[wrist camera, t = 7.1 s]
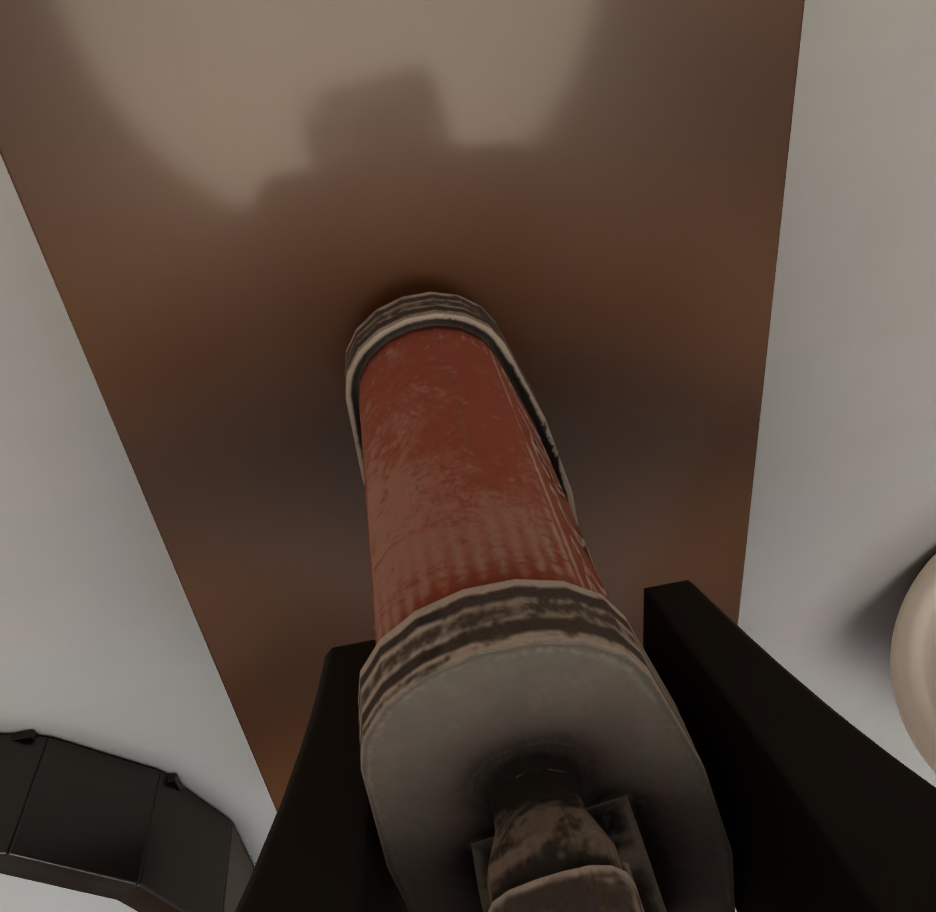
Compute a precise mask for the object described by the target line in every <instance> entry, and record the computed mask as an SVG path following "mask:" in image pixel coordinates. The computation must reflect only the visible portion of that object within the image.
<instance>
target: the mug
mask: <svg viewBox="0 0 936 912" xmlns="http://www.w3.org/2000/svg"><path fill="white" fill-rule="evenodd" d="M890 667H891V680H892V686H893V692H894V696H895V700H896V704H897V707H898V710H899V713H900V716H901V719H902V721H903V723H904V725H905V728H906V730H907V732H908V734H909V736H910V737H911V739H912V741H913V743H914V744H915V746H916V748H917V749H918V751H919V752H920V754H921V755H922V757H923V758H924V759H925V761H926V762H927V763H928V765H929V766H930V767H931V768H932V769H933V771H934V772H935V773H936V554H935V555H934V556H933V557H932V558H931V559H930V560H929V561H928V562H927V564H926V565H925V566H924V567H923V569H922V570H921V571H920V573H919V574H918V576H917V577H916V579H915V580H914V582H913V583H912V585H911V587H910V588H909V590H908V592H907V594H906V596H905V598H904V600H903V603H902V605H901V607H900V610H899V613H898V616H897V619H896V622H895V627H894V631H893V635H892V643H891V655H890Z"/></svg>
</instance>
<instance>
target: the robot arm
mask: <svg viewBox="0 0 936 912" xmlns="http://www.w3.org/2000/svg"><path fill="white" fill-rule="evenodd" d="M375 646H376V640H370V641H364V642H359V643H354V644H349V645H343V646H338V647H333V648H331V649H330V651H329V652H328V653H327V654H326V655H325V659H324V664H323V669H322V674H321V678H320V682H319V686H318V690H317V694H316V698H315V702H314V705H313V709H312V712H311V716H310V719H309V722H308V725H307V729H306V732H305V735H304V738H303V741H302V745H301V748H300V750H299V753H298V756H297V759H296V762H295V765H294V767H293V770H292V773H291V776H290V779H289V782H288V784H287V787H286V790H285V793H284V796H283V799H282V801H281V804H280V806H279V809H278V812H277V814H276V817H275V819H274V822H273V824H272V826H271V829H270V831H269V834H268V836H267V838H266V841H265V843H264V846H263V848H262V850H261V853H260V855H259V858H258V860H257V862H256V865H255V867H254V870H253V872H252V874H251V877H250V879H249V881H248V884H247V886H246V888H245V890H244V893H243V895H242V897H241V899H240V901H239V903H238V906H237V908H236V910H235V912H410V911H409V909H408V907H407V905H406V903H405V901H404V899H403V897H402V895H401V893H400V891H399V889H398V887H397V885H396V883H395V882H394V880H393V878H392V876H391V874H390V872H389V870H388V868H387V864H386V860H385V857H384V853H383V849H382V846H381V842H380V838H379V835H378V831H377V827H376V824H375V820H374V816H373V813H372V809H371V805H370V802H369V798H368V794H367V790H366V787H365V783H364V779H363V776H362V772H361V759H360V735H359V710H358V695H359V679H360V671H361V669H362V667H363V666H364V664H365V663H366V661H367V659H368V658H369V656H370V654H371V653H372V651H373V650H374V648H375ZM643 649H644V651H645V652H646V654H647V656H648V658H649V659H650V661H651V663H652V665H653V666H654V668H655V670H656V672H657V673H658V675H659V677H660V679H661V680H662V682H663V684H664V686H665V687H666V689H667V691H668V693H669V694H670V696H671V698H672V700H673V701H674V703H675V705H676V707H677V709H678V711H679V713H680V715H681V718H682V720H683V722H684V724H685V726H686V729H687V731H688V733H689V735H690V737H691V740H692V742H693V744H694V746H695V748H696V751H697V753H698V755H699V757H700V759H701V762H702V764H703V766H704V768H705V771H706V774H707V777H708V780H709V783H710V786H711V789H712V792H713V795H714V798H715V801H716V804H717V807H718V810H719V813H720V816H721V819H722V822H723V826H724V829H725V832H726V835H727V838H728V841H729V844H730V847H731V850H732V857H733V880H734V902H735V908H736V910H737V912H936V787H934V786H933V785H931V784H930V783H928V782H927V781H926V780H924V779H923V778H922V777H920V776H919V775H917V774H916V773H915V772H913V771H912V770H910V769H909V768H908V767H906V766H905V765H904V764H902V763H901V762H900V761H898V760H897V759H896V758H894V757H893V756H892V755H890V754H889V753H888V752H886V751H885V750H884V749H882V748H881V747H880V746H879V745H877V744H876V743H875V742H873V741H872V740H871V739H870V738H868V737H867V736H866V735H864V734H863V733H862V732H861V731H859V730H858V729H857V728H855V727H854V726H853V725H852V724H850V723H849V722H848V721H847V720H845V719H844V718H843V717H842V716H840V715H839V714H838V713H837V712H836V711H834V710H833V709H832V708H831V707H829V706H828V705H827V704H826V703H825V702H823V701H822V700H821V699H820V698H819V697H818V696H816V695H815V694H814V693H813V692H812V691H811V690H809V689H808V688H807V687H806V686H805V685H803V684H802V683H801V682H800V681H799V680H798V679H796V678H795V677H794V676H793V675H792V674H791V673H789V672H788V671H787V670H786V669H785V668H784V667H782V666H781V665H780V664H779V663H778V662H777V661H776V660H775V659H773V658H772V657H771V656H770V655H769V654H768V653H767V652H766V651H765V650H763V649H762V648H761V647H760V646H759V645H758V644H757V643H756V642H755V641H754V640H753V639H751V638H750V637H749V636H748V635H747V634H746V633H745V632H744V631H743V630H742V629H741V628H740V627H739V626H737V625H736V624H735V623H734V622H733V621H732V620H731V619H730V618H729V617H728V616H727V615H726V614H725V613H724V612H723V611H722V610H721V609H720V608H719V607H717V606H716V605H715V604H714V603H713V602H712V601H711V600H710V599H709V598H708V597H707V596H706V595H705V594H704V593H703V592H702V591H701V590H700V589H699V588H698V587H697V586H696V585H695V584H693V583H692V582H690V581H689V580H684V581H679V582H674V583H669V584H663V585H658V586H653V587H648V588H644V611H643Z"/></svg>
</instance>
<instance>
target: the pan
mask: <svg viewBox="0 0 936 912" xmlns="http://www.w3.org/2000/svg"><path fill="white" fill-rule="evenodd" d="M253 870H254V868H253V866H252V863H251V861H250V859H249V857H248V855H247V853H246V851H245V849H244V847H243V845H242V843H241V841H240V838H239V836H238V834H237V832H236V830H235V828H234V826H233V824H232V823H231V821H230V820H228V819H227V818H226V817H224V816H223V815H221V814H220V813H219V812H217V811H216V810H214V809H213V808H212V807H210V806H209V805H207V804H206V803H204V802H203V801H202V800H200V799H199V798H197V797H196V796H195V795H193V794H192V793H190V792H189V791H187V790H186V789H185V788H183V787H182V785H181V783H180V781H179V779H178V777H177V775H176V774H173V775H168V776H166V775H165V774H163V773H161V772H160V771H158V770H155V769H152V768H148V767H145V766H142V765H138V764H135V763H132V762H129V761H125V760H122V759H119V758H116V757H112V756H109V755H106V754H103V753H99V752H96V751H93V750H90V749H86V748H83V747H80V746H76V745H73V744H70V743H67V742H63V741H60V740H57V739H54V738H47V737H39V736H37V735H36V733H35V732H34V730H31V731H26V732H21V733H16V734H10V735H2V734H0V873H1V874H5V875H10V876H14V877H19V878H23V879H28V880H32V881H36V882H41V883H45V884H50V885H54V886H59V887H63V888H67V889H72V890H76V891H81V892H85V893H90V894H94V895H98V896H103V897H107V898H112V899H116V900H118V901H120V902H122V903H124V904H126V905H127V906H129V907H131V908H133V909H135V910H136V911H138V912H235V910H236V908H237V906H238V903H239V901H240V899H241V897H242V895H243V893H244V890H245V888H246V886H247V884H248V881H249V879H250V877H251V874H252V872H253Z"/></svg>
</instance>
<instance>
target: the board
mask: <svg viewBox="0 0 936 912" xmlns="http://www.w3.org/2000/svg"><path fill="white" fill-rule="evenodd" d="M804 1H805V0H0V154H1V156H2V158H3V161H4V163H5V166H6V168H7V170H8V173H9V175H10V177H11V180H12V182H13V185H14V187H15V189H16V192H17V194H18V196H19V199H20V201H21V204H22V206H23V208H24V211H25V213H26V216H27V218H28V220H29V223H30V225H31V227H32V230H33V232H34V235H35V237H36V239H37V242H38V244H39V246H40V249H41V251H42V254H43V256H44V258H45V261H46V263H47V265H48V268H49V270H50V273H51V275H52V277H53V280H54V282H55V285H56V287H57V289H58V292H59V294H60V296H61V299H62V301H63V304H64V306H65V308H66V311H67V313H68V315H69V318H70V320H71V323H72V325H73V327H74V330H75V332H76V335H77V337H78V339H79V342H80V344H81V346H82V349H83V351H84V354H85V356H86V358H87V361H88V363H89V365H90V368H91V370H92V373H93V375H94V377H95V380H96V382H97V384H98V387H99V389H100V392H101V394H102V396H103V399H104V401H105V404H106V406H107V408H108V411H109V413H110V415H111V418H112V420H113V423H114V425H115V427H116V430H117V432H118V434H119V437H120V439H121V442H122V444H123V446H124V449H125V451H126V453H127V456H128V458H129V461H130V463H131V465H132V468H133V470H134V473H135V475H136V477H137V480H138V482H139V484H140V487H141V489H142V492H143V494H144V496H145V499H146V501H147V503H148V506H149V508H150V511H151V513H152V515H153V518H154V520H155V522H156V525H157V527H158V530H159V532H160V534H161V537H162V539H163V542H164V544H165V546H166V549H167V551H168V553H169V556H170V558H171V561H172V563H173V565H174V568H175V570H176V572H177V575H178V577H179V580H180V582H181V584H182V587H183V589H184V592H185V594H186V596H187V599H188V601H189V603H190V606H191V608H192V611H193V613H194V615H195V618H196V620H197V622H198V625H199V627H200V630H201V632H202V634H203V637H204V639H205V641H206V644H207V646H208V649H209V651H210V653H211V656H212V658H213V661H214V663H215V665H216V668H217V670H218V672H219V675H220V677H221V680H222V682H223V684H224V687H225V689H226V691H227V694H228V696H229V699H230V701H231V703H232V706H233V708H234V710H235V713H236V715H237V718H238V720H239V722H240V725H241V727H242V730H243V732H244V734H245V737H246V739H247V741H248V744H249V746H250V749H251V751H252V753H253V756H254V758H255V760H256V763H257V765H258V768H259V770H260V772H261V775H262V777H263V779H264V782H265V784H266V787H267V789H268V791H269V794H270V796H271V799H272V801H273V803H274V806H275V808H276V810H277V812H278V809H279V806H280V804H281V801H282V799H283V796H284V793H285V790H286V787H287V784H288V782H289V779H290V776H291V773H292V770H293V767H294V765H295V762H296V759H297V756H298V753H299V750H300V748H301V745H302V741H303V738H304V735H305V732H306V729H307V725H308V722H309V719H310V716H311V712H312V709H313V705H314V702H315V698H316V694H317V690H318V686H319V682H320V678H321V674H322V669H323V664H324V659H325V655H326V654H327V653H328V652H329V651H330V649H331V648H333V647H338V646H343V645H349V644H354V643H359V642H364V641H370V640H375V635H374V611H373V597H372V582H371V568H370V553H369V539H368V524H367V510H366V495H365V486H364V483H363V480H362V475H361V471H360V466H359V461H358V456H357V451H356V446H355V441H354V436H353V431H352V426H351V421H350V416H349V411H348V407H347V402H346V390H345V355H346V350H347V347H348V345H349V343H350V341H351V339H352V337H353V335H354V333H355V331H356V329H357V328H358V327H359V326H360V325H361V324H362V323H363V322H364V321H365V320H366V319H367V318H368V317H369V316H370V315H371V314H372V313H373V312H374V311H375V310H377V309H379V308H381V307H383V306H385V305H387V304H389V303H391V302H393V301H395V300H397V299H399V298H401V297H405V296H410V295H416V294H421V293H427V292H437V293H445V294H454V295H459V296H461V297H463V298H465V299H467V300H469V301H471V302H474V303H476V304H478V305H480V306H481V307H482V308H483V309H484V310H485V311H486V312H487V313H488V315H489V316H490V317H491V318H492V319H493V320H494V321H495V322H496V324H497V326H498V328H499V330H500V331H501V333H502V335H503V337H504V339H505V341H506V343H507V344H508V346H509V348H510V350H511V352H512V354H513V356H514V357H515V359H516V361H517V363H518V365H519V367H520V369H521V370H522V372H523V374H524V376H525V378H526V380H527V382H528V383H529V385H530V387H531V389H532V391H533V393H534V395H535V397H536V399H537V401H538V403H539V406H540V408H541V410H542V412H543V414H544V417H545V419H546V421H547V424H548V427H549V430H550V432H551V435H552V438H553V440H554V443H555V446H556V449H557V451H558V454H559V457H560V459H561V462H562V465H563V468H564V470H565V473H566V476H567V478H568V481H569V484H570V487H571V489H572V492H573V498H574V504H575V510H576V515H577V521H578V527H579V529H580V532H581V534H582V536H583V539H584V541H585V544H586V546H587V548H588V551H589V553H590V555H591V558H592V560H593V562H594V565H595V567H596V569H597V572H598V574H599V576H600V579H601V581H602V583H603V586H604V588H605V590H606V593H607V595H608V597H609V600H610V602H611V604H612V605H614V606H615V607H616V608H617V609H618V610H619V611H620V612H621V613H622V614H623V615H624V616H625V618H626V619H627V621H628V623H629V625H630V626H631V628H632V630H633V632H634V633H635V635H636V637H637V639H638V640H639V642H640V644H641V646H642V647H643V611H644V588H648V587H653V586H658V585H663V584H669V583H674V582H679V581H684V580H689V581H690V582H692V583H693V584H695V585H696V586H697V587H698V588H699V589H700V590H701V591H702V592H703V593H704V594H705V595H706V596H707V597H708V598H709V599H710V600H711V601H712V602H713V603H714V604H715V605H716V606H717V607H719V608H720V609H721V610H722V611H723V612H724V613H725V614H726V615H727V616H728V617H729V618H730V619H731V620H732V621H733V622H734V623H735V624H736V625H737V626H738V617H739V608H740V598H741V589H742V580H743V570H744V561H745V552H746V542H747V533H748V524H749V514H750V505H751V496H752V486H753V477H754V468H755V458H756V449H757V440H758V430H759V421H760V412H761V402H762V393H763V384H764V374H765V365H766V356H767V346H768V337H769V328H770V318H771V309H772V300H773V290H774V281H775V272H776V262H777V253H778V244H779V235H780V225H781V216H782V207H783V197H784V188H785V179H786V169H787V160H788V151H789V141H790V132H791V123H792V113H793V104H794V95H795V85H796V76H797V67H798V57H799V48H800V39H801V29H802V20H803V11H804Z"/></svg>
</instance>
